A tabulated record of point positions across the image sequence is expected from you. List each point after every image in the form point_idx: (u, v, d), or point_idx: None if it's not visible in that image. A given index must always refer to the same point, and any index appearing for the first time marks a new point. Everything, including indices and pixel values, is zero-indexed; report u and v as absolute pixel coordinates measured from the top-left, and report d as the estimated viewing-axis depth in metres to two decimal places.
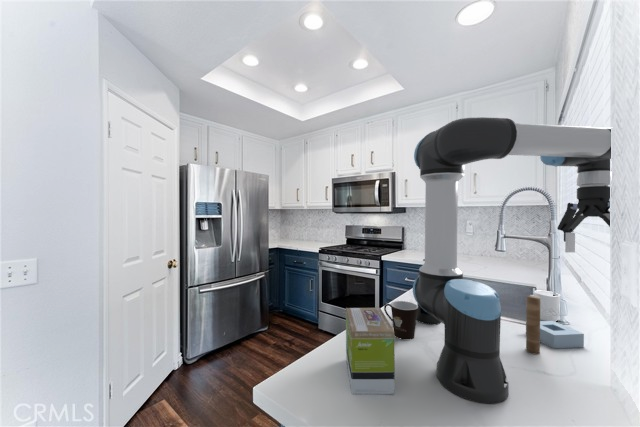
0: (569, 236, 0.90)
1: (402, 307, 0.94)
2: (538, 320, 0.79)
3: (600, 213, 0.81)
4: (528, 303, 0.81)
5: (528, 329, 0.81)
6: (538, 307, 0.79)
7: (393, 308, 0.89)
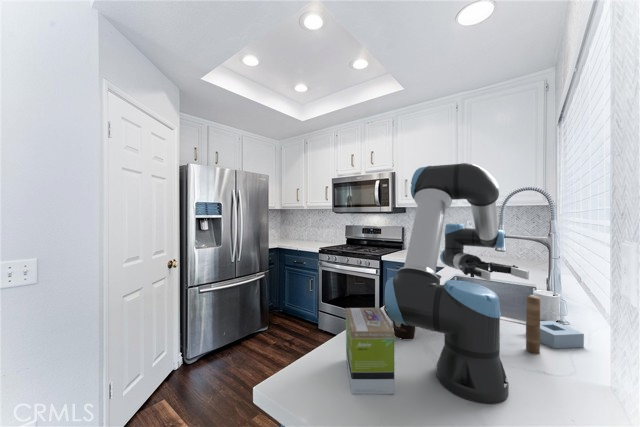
0: None
1: None
2: (538, 320, 0.79)
3: (490, 263, 1.03)
4: (528, 303, 0.81)
5: (528, 329, 0.81)
6: (538, 307, 0.79)
7: None
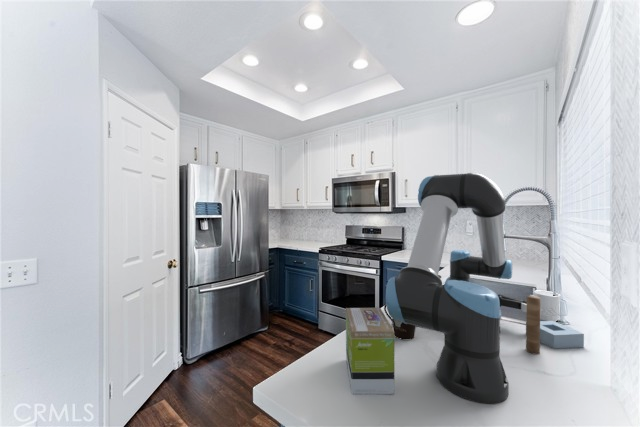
0: None
1: None
2: (538, 320, 0.79)
3: (498, 296, 0.99)
4: (528, 303, 0.81)
5: (528, 329, 0.81)
6: (538, 307, 0.79)
7: None
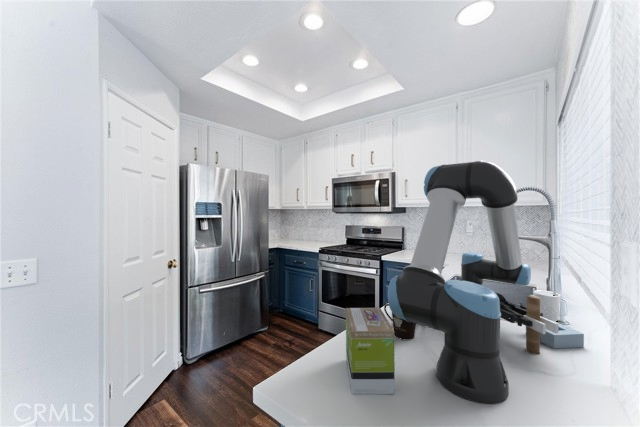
0: None
1: None
2: (538, 320, 0.79)
3: None
4: (528, 303, 0.81)
5: (528, 329, 0.80)
6: (538, 307, 0.79)
7: None
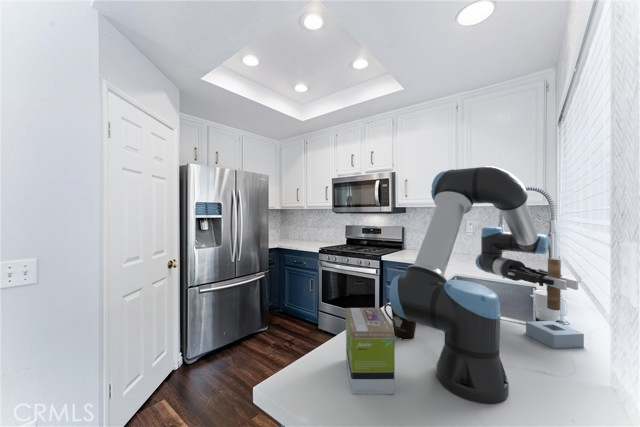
0: None
1: None
2: None
3: (535, 269, 0.97)
4: (549, 264, 0.88)
5: (549, 288, 0.88)
6: (559, 267, 0.86)
7: None
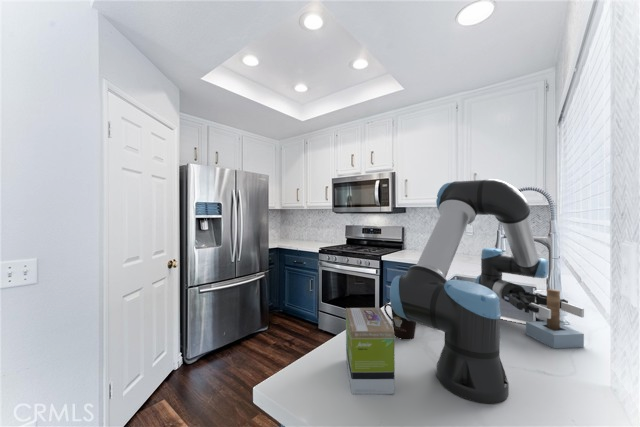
0: None
1: None
2: (558, 311, 0.87)
3: (536, 294, 0.98)
4: (548, 295, 0.88)
5: (549, 319, 0.88)
6: (558, 299, 0.87)
7: None
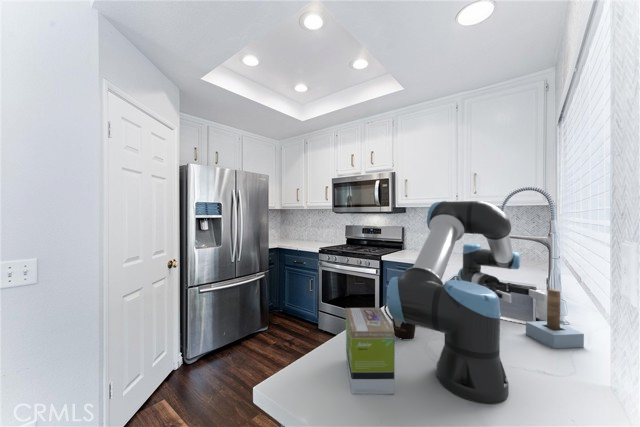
0: None
1: None
2: (558, 311, 0.87)
3: (508, 284, 1.11)
4: (549, 296, 0.88)
5: (549, 319, 0.88)
6: (558, 299, 0.86)
7: None
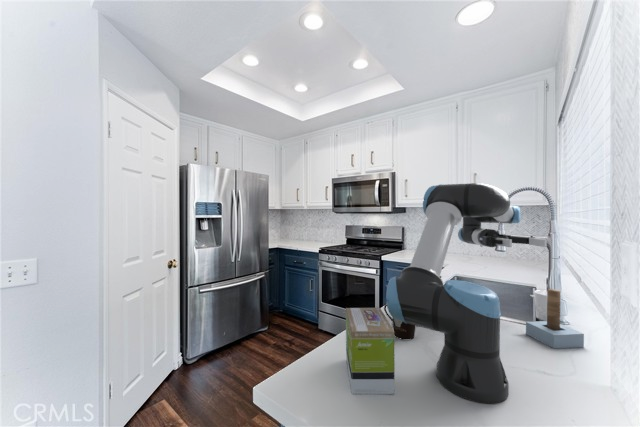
0: None
1: None
2: (558, 311, 0.87)
3: (508, 235, 1.11)
4: (549, 296, 0.88)
5: (549, 319, 0.88)
6: (558, 299, 0.86)
7: None
